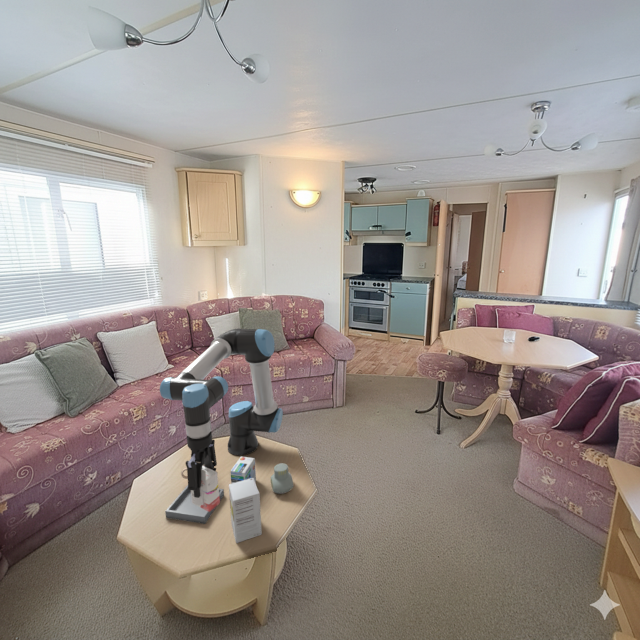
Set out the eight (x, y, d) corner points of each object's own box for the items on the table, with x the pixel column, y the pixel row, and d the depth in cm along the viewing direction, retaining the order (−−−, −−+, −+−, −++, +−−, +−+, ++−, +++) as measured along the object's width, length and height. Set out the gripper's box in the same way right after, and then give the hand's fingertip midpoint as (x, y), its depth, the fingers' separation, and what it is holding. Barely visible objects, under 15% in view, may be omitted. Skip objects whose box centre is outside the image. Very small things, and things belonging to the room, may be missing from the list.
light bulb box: (246, 496, 139) (245, 473, 136) (231, 494, 140) (229, 471, 138) (256, 479, 149) (255, 457, 147) (242, 477, 150) (240, 455, 148)
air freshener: (294, 494, 139) (293, 473, 137) (274, 499, 137) (273, 477, 135) (288, 478, 149) (288, 457, 147) (270, 482, 147) (269, 461, 145)
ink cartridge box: (221, 502, 113) (217, 463, 110) (209, 512, 109) (205, 472, 106) (203, 493, 118) (199, 455, 115) (191, 503, 114) (187, 463, 110)
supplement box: (231, 524, 125) (227, 483, 121) (256, 516, 128) (253, 476, 125) (235, 544, 116) (232, 501, 113) (262, 535, 120) (260, 492, 116)
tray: (188, 490, 142) (188, 484, 142) (224, 495, 139) (223, 489, 139) (166, 517, 128) (165, 511, 127) (204, 524, 125) (204, 517, 124)
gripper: (204, 417, 118) (209, 476, 123) (169, 448, 100) (177, 516, 105) (224, 419, 117) (228, 478, 121) (193, 451, 98) (200, 520, 103)
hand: (205, 496), depth 113 cm, fingers closed on ink cartridge box, 6 cm apart
